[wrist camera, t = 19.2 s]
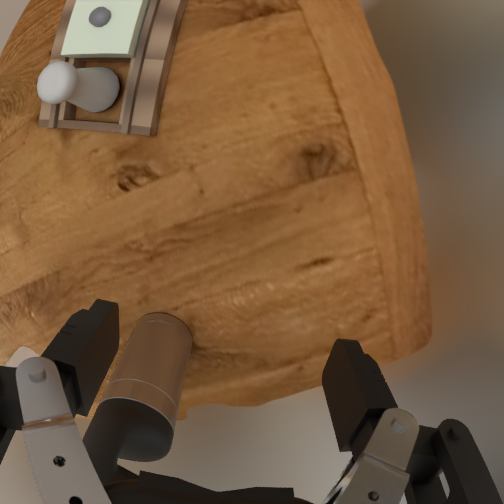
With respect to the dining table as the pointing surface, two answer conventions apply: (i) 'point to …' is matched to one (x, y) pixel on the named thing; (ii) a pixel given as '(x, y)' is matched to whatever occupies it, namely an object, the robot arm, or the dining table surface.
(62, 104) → the board
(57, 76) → the salt shaker
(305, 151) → the dining table surface
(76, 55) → the cover
